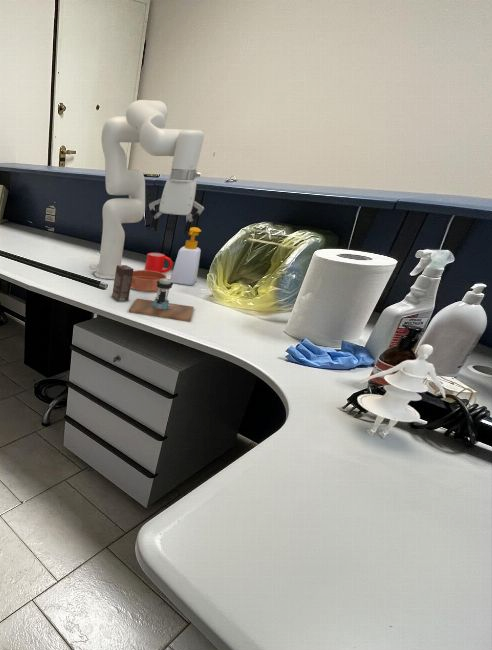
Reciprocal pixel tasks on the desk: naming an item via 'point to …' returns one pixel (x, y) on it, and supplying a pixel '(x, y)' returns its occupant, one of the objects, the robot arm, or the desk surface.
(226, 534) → the desk surface
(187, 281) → the soap bottle
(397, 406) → the figurine
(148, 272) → the bowl
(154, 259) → the mug
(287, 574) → the desk surface
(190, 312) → the cork mat
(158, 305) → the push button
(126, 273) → the box
